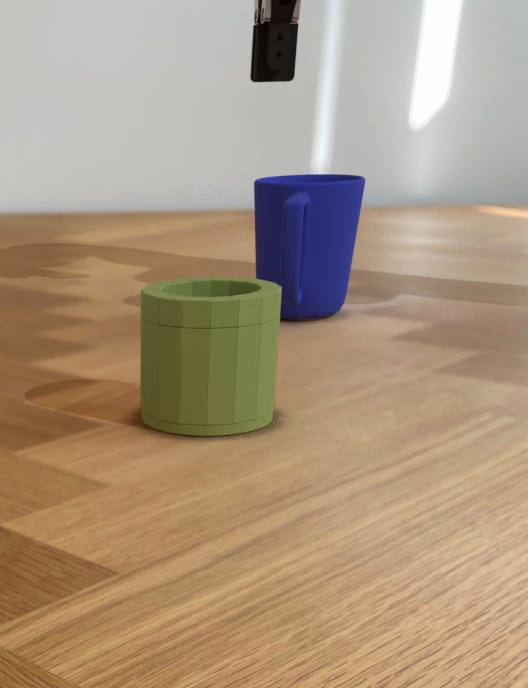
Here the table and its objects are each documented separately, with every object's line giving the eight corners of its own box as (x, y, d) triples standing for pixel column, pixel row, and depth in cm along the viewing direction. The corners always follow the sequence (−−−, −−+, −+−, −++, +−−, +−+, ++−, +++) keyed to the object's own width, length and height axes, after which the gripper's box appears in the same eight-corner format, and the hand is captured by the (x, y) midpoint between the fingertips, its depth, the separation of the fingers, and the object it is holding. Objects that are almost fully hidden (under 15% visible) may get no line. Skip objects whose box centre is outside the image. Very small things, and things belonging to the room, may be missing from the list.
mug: (228, 333, 79) (234, 188, 74) (257, 303, 88) (264, 174, 84) (341, 336, 76) (354, 187, 71) (357, 306, 86) (370, 173, 81)
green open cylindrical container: (255, 397, 62) (262, 274, 59) (287, 432, 56) (296, 296, 52) (133, 403, 62) (133, 280, 59) (151, 439, 55) (152, 303, 52)
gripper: (377, -236, 69) (346, 80, 77) (314, -185, 82) (293, 80, 91) (264, -234, 69) (246, 83, 77) (219, -183, 82) (207, 83, 90)
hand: (271, 81), depth 84 cm, fingers closed
